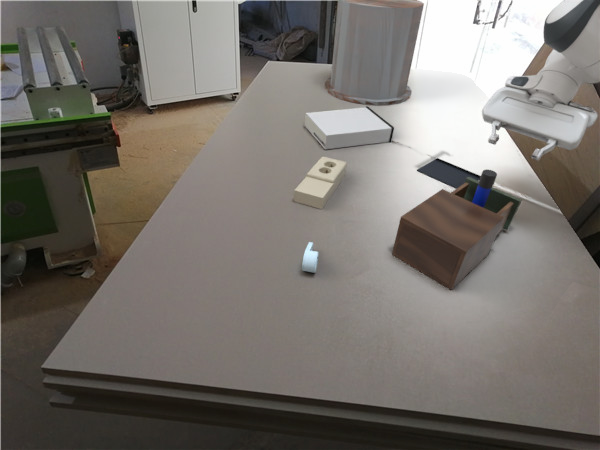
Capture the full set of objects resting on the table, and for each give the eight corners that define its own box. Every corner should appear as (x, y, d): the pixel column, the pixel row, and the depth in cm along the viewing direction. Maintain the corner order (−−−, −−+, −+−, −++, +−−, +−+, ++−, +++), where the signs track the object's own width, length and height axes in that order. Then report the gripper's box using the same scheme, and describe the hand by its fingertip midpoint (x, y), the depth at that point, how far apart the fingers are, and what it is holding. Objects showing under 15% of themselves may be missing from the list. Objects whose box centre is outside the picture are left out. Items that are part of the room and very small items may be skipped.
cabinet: (431, 224, 92) (442, 188, 86) (488, 254, 85) (504, 217, 79) (391, 254, 83) (400, 216, 77) (451, 290, 76) (466, 251, 70)
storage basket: (398, 112, 147) (418, 13, 127) (311, 93, 158) (317, 0, 138) (419, 85, 172) (438, 0, 153) (342, 71, 183) (351, -10, 164)
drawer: (467, 198, 100) (477, 170, 95) (516, 221, 93) (530, 192, 89) (426, 228, 89) (435, 199, 85) (479, 256, 82) (492, 226, 78)
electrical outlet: (294, 186, 94) (322, 155, 108) (293, 201, 97) (320, 168, 110) (323, 194, 92) (347, 161, 106) (321, 209, 95) (345, 175, 108)
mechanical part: (314, 276, 76) (316, 258, 74) (301, 274, 76) (303, 256, 75) (320, 255, 83) (322, 238, 81) (308, 253, 83) (310, 236, 82)
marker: (479, 224, 90) (499, 173, 82) (473, 229, 88) (493, 177, 80) (467, 218, 91) (486, 168, 83) (461, 223, 89) (480, 172, 82)
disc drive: (391, 142, 126) (394, 127, 123) (325, 150, 119) (326, 134, 116) (365, 120, 139) (367, 106, 136) (304, 126, 132) (305, 111, 129)
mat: (487, 174, 112) (487, 173, 112) (463, 191, 104) (463, 190, 104) (442, 156, 120) (442, 154, 120) (416, 170, 112) (417, 169, 112)
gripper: (600, 118, 83) (562, 175, 83) (503, 90, 94) (470, 140, 94) (605, 101, 78) (565, 162, 78) (501, 74, 89) (467, 127, 89)
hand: (512, 150), depth 86 cm, fingers open, 8 cm apart
